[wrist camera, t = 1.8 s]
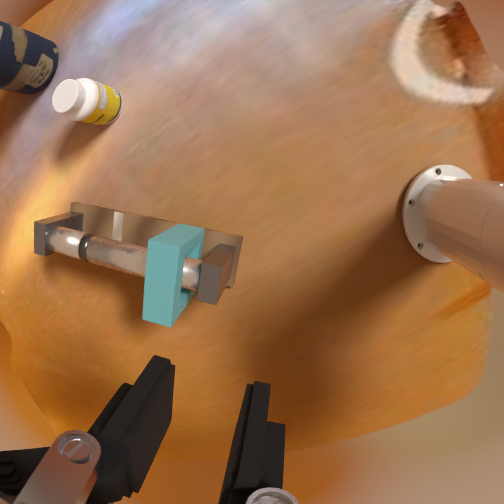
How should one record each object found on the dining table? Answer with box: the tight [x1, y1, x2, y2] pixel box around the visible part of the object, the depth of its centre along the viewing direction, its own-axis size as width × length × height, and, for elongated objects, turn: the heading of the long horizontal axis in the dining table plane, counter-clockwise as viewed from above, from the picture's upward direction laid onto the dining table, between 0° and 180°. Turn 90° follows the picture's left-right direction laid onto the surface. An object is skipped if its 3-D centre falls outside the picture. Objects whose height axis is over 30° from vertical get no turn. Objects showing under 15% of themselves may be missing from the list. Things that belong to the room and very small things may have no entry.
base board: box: [71, 202, 243, 287], centre depth 39 cm, size 25×6×1 cm, turn 79°
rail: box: [34, 212, 236, 305], centre depth 35 cm, size 24×4×9 cm, turn 79°
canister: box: [0, 21, 58, 94], centre depth 26 cm, size 10×10×18 cm
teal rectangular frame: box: [142, 223, 205, 327], centre depth 32 cm, size 3×8×9 cm, turn 169°
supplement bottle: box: [52, 78, 123, 125], centre depth 31 cm, size 5×5×10 cm
